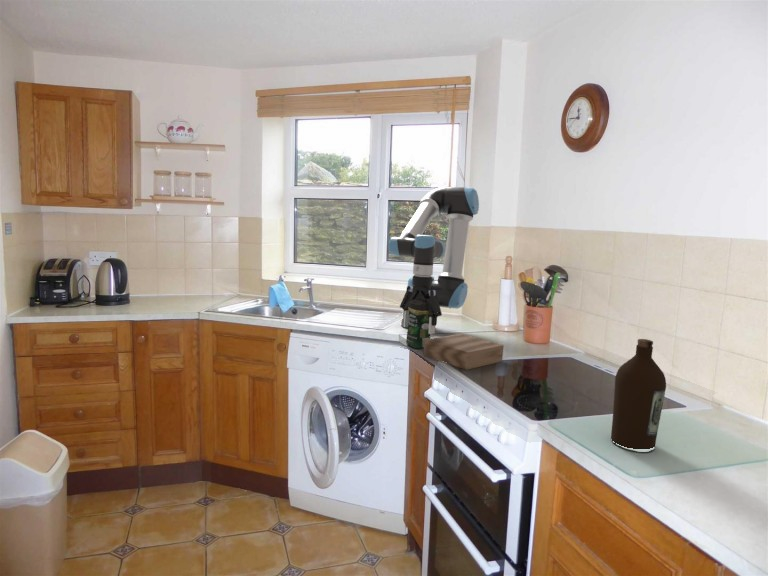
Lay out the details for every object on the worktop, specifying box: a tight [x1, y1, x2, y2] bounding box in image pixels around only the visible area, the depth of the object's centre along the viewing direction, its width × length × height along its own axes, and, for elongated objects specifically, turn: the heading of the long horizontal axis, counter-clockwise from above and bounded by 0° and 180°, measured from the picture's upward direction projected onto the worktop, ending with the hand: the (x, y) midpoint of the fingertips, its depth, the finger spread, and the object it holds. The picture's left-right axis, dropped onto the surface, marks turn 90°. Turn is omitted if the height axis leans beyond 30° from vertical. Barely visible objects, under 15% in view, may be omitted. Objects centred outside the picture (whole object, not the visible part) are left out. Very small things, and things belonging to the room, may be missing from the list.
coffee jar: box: [406, 299, 431, 350], centre depth 205 cm, size 10×8×19 cm
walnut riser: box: [423, 333, 504, 371], centre depth 191 cm, size 20×20×6 cm
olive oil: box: [610, 338, 667, 449], centre depth 123 cm, size 11×11×25 cm
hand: (418, 330), depth 205 cm, fingers open, 13 cm apart
